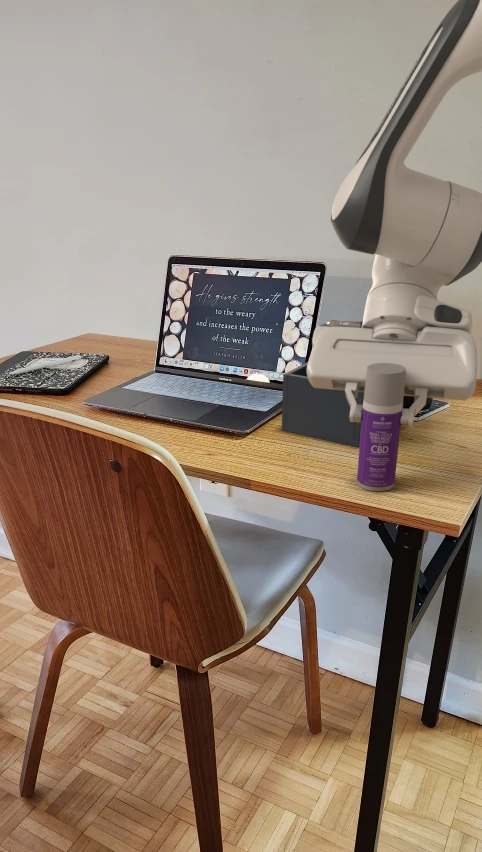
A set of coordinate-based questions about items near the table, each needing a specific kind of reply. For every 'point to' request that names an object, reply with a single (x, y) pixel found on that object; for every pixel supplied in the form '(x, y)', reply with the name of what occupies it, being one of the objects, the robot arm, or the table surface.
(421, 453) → the table surface
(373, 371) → the container
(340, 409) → the bin
